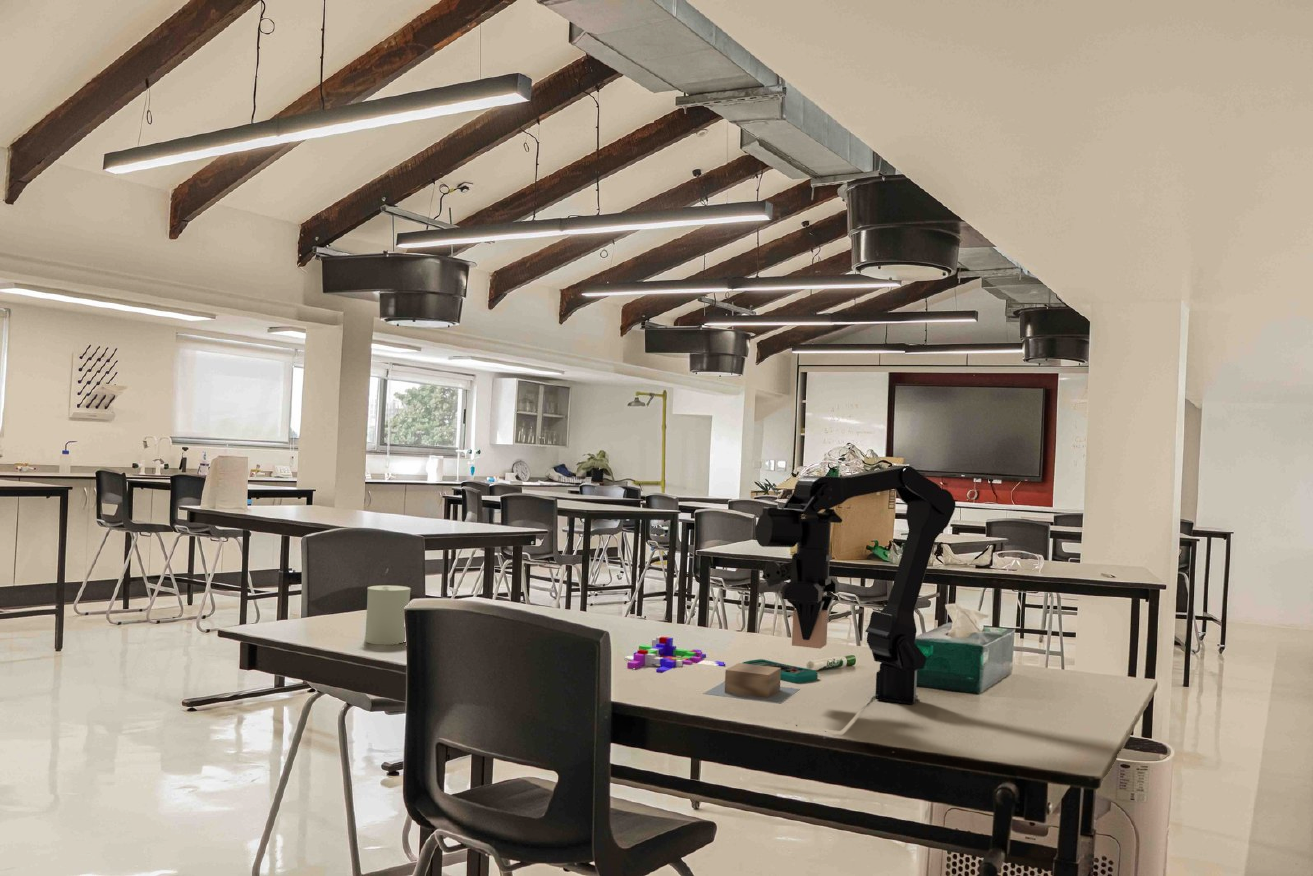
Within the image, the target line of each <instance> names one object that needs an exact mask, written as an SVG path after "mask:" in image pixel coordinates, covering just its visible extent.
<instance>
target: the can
mask: <svg viewBox="0 0 1313 876" xmlns="http://www.w3.org/2000/svg"><path fill="white" fill-rule="evenodd" d="M366 590H367V597H366V598H367V599H366V604H367V605H366V618H365V619H366V621H365V633H364V634H365V635H364V640H363V641H364V642H365V643H366V644H370V645H378V646H379V645H380V646H383V645H384V646H392V645H393V644H396V645H400V644H399V643H403V642H404V641H405V627H404V607H405V606H406V605H407V604H408V603H409V602H410V600H411V590H412V588H411V587H410V586H409V587H408V586H403V585H388V584H387V585H383V584H382V585H372V586H368V587H367V589H366ZM409 604H410V603H409ZM403 644H404V643H403Z"/></svg>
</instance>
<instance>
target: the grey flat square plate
mask: <svg viewBox="0 0 1313 876" xmlns="http://www.w3.org/2000/svg"><path fill="white" fill-rule="evenodd" d="M800 690H801V688H793V687H786V686H780V690H779V691H778V692H776V693H775V694H773V695H772V696H770V697H769V698H764V697H756V696H748V695H740V694H732V693H725V681H722V683H720V684H717V685H715V686H714V687H712V688H711V689H709V690H707V691H705V692H703V693H702V695H709V696H715V697H723V698H725V697H727V698H734V699H740V700H747V701H748V700H749V701H757V702H763V703H772V704H782V703H784V702H785V701H786V700H788V699H789V698H790V697H792V696H794V695H795V694H796V693H797V692H798V691H800Z"/></svg>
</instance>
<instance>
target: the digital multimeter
mask: <svg viewBox="0 0 1313 876" xmlns="http://www.w3.org/2000/svg"><path fill="white" fill-rule="evenodd" d="M742 663H743V664H752V665H761V666H769V667H778V668H781V678H780V681H784V682H789V683H793V684H802V683H810V682H814V681H816V680H818V677H819V676H818V672H817V671H816V670H815V669H810V668H804V667H800V666H796V665H794V666H793V665H789V664H785V663H780V662H776V661H772V660H767V659H763V658H760V659H752V660H751V659H750V660H746V661H743V662H742Z"/></svg>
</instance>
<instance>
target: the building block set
mask: <svg viewBox="0 0 1313 876" xmlns="http://www.w3.org/2000/svg"><path fill="white" fill-rule="evenodd" d="M673 640H674V637H668V636H660V635H659V636H656V637H655V638H653V639H651V645H647V644H641V645H638V650H637V651H635V652H633V655H627V656H624V660H625V659H626V660H625V661H627V660H628V661H627V663H626V664H627V666H626V667H627V669H630V668H635V669H634V670H636V668H637V669H639V668H642V667H645V665H646V667H654V666H656V665H658V666H659V667H658V668H656V669H655V671H656V672H655V673H666V672H667V671H670V670H672V669H675V668H677V667H679V668H680V667H682V666H683V665H692V664H699V665H700V664H701V665H708V666H715V667H716V666H717V667H723V668H725V667H726V663H725V661H720V660H719V661H718V660H715V661H713V660H703V659H704V658H706V657H707V654H706V653H703V651H702V649H692V650H689V649H684V648H677V645H673V643H674V641H673ZM629 661H630V662H629Z"/></svg>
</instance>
